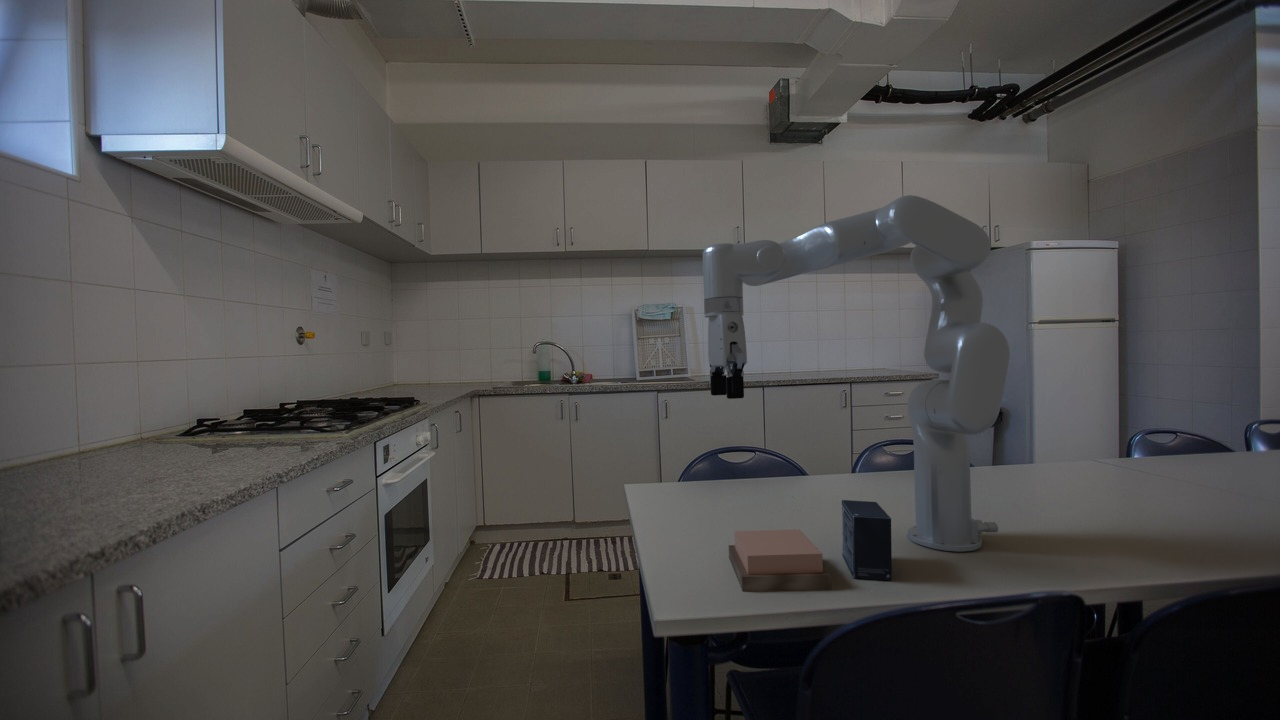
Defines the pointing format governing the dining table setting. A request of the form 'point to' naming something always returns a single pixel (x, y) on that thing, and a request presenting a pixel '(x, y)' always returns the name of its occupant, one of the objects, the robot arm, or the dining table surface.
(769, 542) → the terracotta slab
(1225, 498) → the dining table surface
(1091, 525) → the dining table surface
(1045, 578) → the dining table surface
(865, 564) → the small box
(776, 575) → the walnut slab
